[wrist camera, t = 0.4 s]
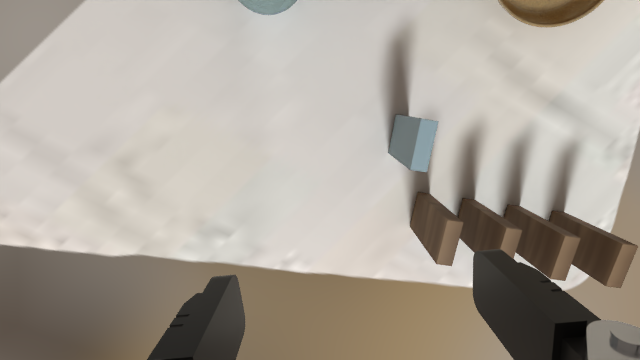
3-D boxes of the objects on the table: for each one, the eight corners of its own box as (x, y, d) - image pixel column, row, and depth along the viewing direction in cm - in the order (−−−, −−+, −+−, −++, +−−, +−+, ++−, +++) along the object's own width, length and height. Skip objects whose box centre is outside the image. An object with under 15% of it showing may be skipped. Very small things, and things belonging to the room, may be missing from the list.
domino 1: (388, 153, 40) (410, 169, 30) (395, 114, 39) (421, 118, 29) (400, 154, 40) (426, 172, 30) (408, 116, 39) (438, 121, 29)
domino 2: (409, 226, 42) (436, 264, 32) (417, 192, 41) (447, 220, 31) (421, 228, 42) (451, 266, 32) (429, 193, 41) (463, 222, 31)
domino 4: (497, 238, 42) (550, 278, 33) (507, 204, 41) (565, 236, 32) (509, 239, 42) (565, 280, 33) (519, 206, 41) (580, 238, 32)
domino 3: (453, 232, 42) (493, 271, 33) (462, 198, 41) (506, 228, 31) (465, 233, 42) (508, 273, 33) (474, 199, 41) (522, 230, 31)
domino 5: (541, 244, 43) (605, 286, 33) (552, 210, 41) (622, 244, 32) (552, 245, 43) (620, 288, 33) (564, 212, 42) (638, 246, 32)
